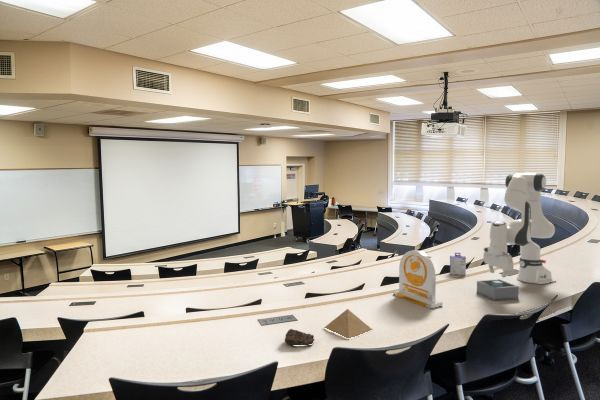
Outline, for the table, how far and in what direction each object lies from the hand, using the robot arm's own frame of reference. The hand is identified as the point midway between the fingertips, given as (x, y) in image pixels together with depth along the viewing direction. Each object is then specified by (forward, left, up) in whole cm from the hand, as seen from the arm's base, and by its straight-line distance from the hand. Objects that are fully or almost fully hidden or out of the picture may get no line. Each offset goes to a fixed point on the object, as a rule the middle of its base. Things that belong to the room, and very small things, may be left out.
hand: (497, 274), depth 223 cm
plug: (0, 0, -11) cm, 11 cm away
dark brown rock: (+122, +37, -12) cm, 128 cm away
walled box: (0, 0, -12) cm, 12 cm away
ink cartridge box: (-7, -48, -12) cm, 50 cm away
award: (+48, -3, -12) cm, 50 cm away
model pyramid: (+98, +27, -13) cm, 103 cm away
